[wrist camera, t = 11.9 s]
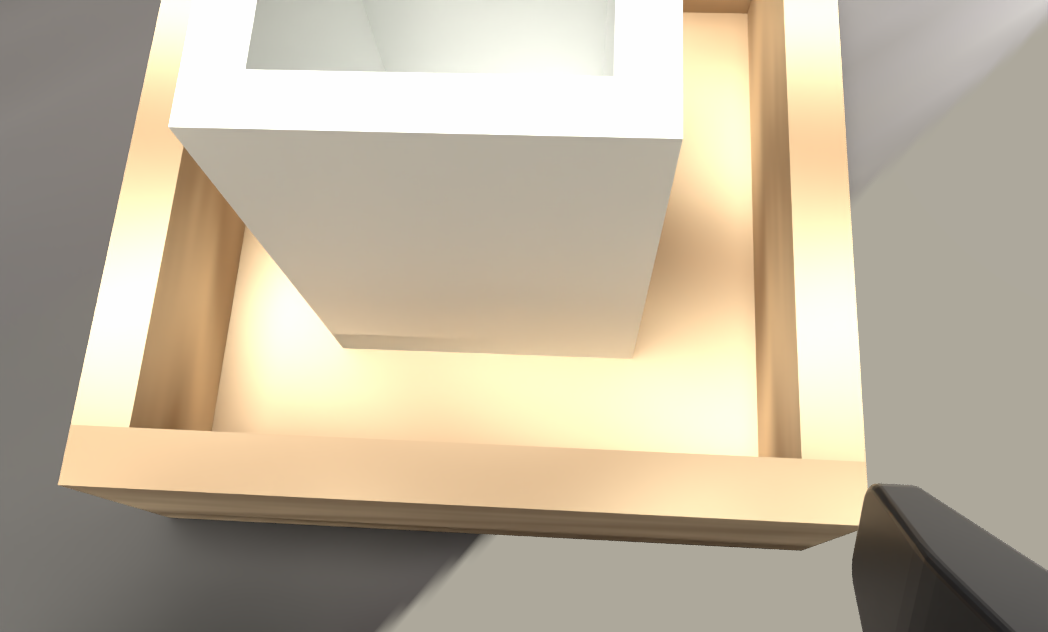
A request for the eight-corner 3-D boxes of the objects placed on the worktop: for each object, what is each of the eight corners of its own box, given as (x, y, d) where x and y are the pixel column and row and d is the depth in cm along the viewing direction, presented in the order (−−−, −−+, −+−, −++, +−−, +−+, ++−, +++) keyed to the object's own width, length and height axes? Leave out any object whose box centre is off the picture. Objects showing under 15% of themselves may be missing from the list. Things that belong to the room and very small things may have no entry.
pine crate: (801, 550, 19) (869, 525, 14) (169, 517, 20) (58, 484, 15) (780, 5, 23) (828, -139, 19) (259, -5, 24) (192, -144, 19)
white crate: (631, 358, 19) (682, 138, 11) (343, 348, 20) (168, 127, 11) (636, 102, 21) (681, -258, 13) (372, 97, 21) (243, -257, 13)
